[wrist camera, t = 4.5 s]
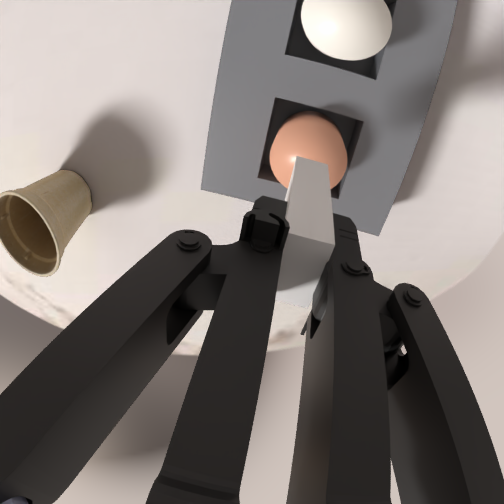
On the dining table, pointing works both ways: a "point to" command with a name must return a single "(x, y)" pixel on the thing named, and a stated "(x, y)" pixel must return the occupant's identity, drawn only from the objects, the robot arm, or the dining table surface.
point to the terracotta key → (308, 146)
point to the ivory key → (347, 27)
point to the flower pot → (43, 220)
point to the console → (323, 101)
